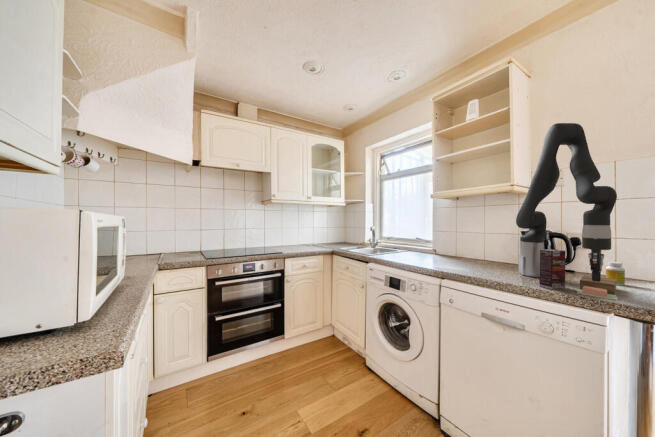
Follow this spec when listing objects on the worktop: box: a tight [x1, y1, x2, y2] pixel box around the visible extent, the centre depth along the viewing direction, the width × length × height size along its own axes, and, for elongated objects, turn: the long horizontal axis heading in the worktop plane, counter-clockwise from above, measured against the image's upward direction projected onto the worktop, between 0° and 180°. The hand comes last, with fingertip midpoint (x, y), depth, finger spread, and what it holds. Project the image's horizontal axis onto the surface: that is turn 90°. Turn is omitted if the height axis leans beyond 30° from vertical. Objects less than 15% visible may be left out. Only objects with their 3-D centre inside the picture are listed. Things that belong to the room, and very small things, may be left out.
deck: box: [579, 274, 617, 295], centre depth 97 cm, size 14×9×4 cm, turn 128°
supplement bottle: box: [605, 261, 626, 286], centre depth 106 cm, size 5×5×10 cm
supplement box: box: [538, 248, 567, 290], centre depth 100 cm, size 9×5×16 cm, turn 106°
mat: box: [576, 288, 619, 301], centre depth 90 cm, size 10×7×1 cm
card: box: [582, 286, 607, 297], centre depth 90 cm, size 5×6×2 cm
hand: (596, 281), depth 92 cm, fingers closed
